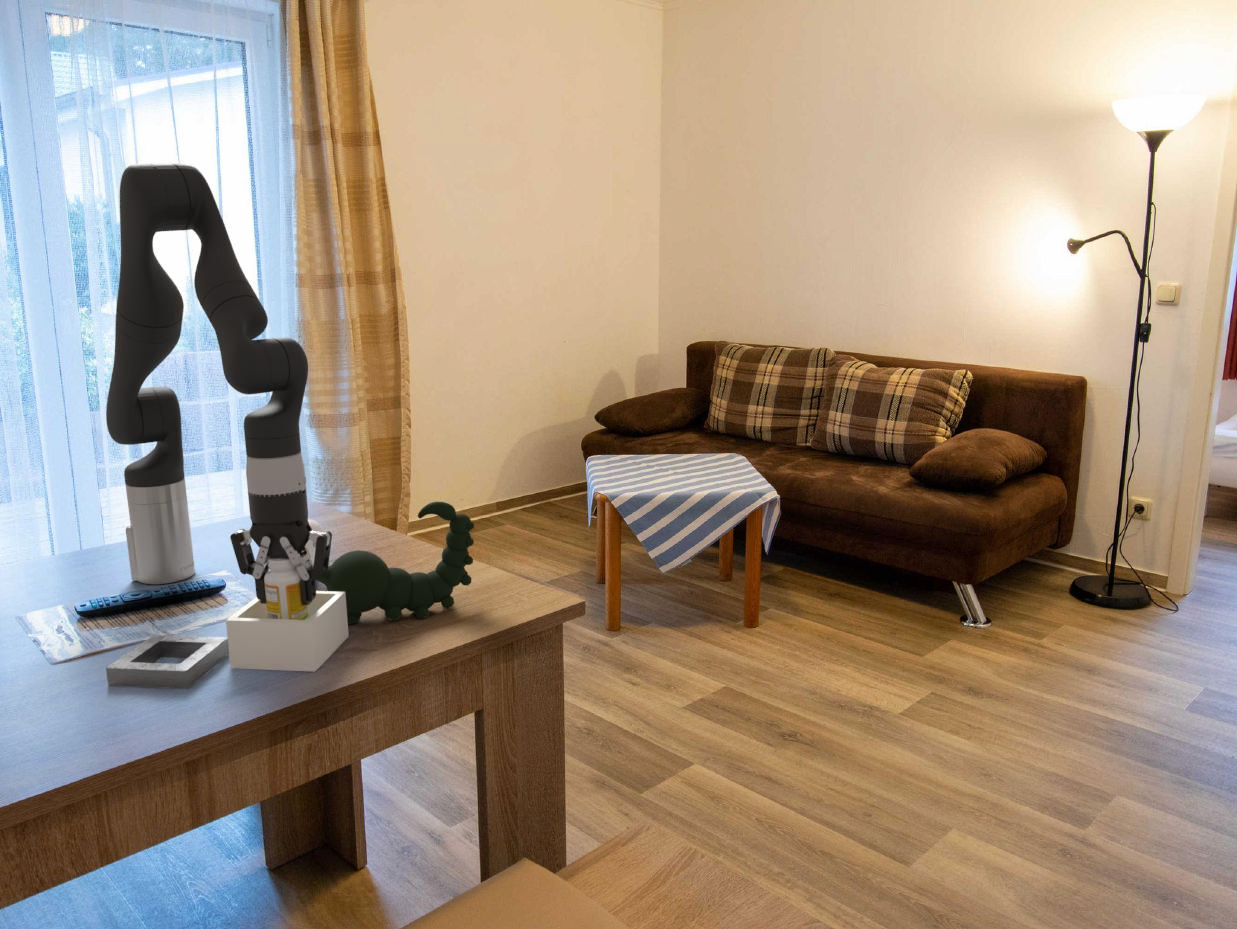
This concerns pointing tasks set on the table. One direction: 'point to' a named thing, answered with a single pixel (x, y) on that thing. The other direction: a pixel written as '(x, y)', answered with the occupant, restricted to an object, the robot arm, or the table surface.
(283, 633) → the bin
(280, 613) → the supplement bottle
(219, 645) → the socket collar
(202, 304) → the robot arm
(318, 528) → the lightbulb
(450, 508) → the toy figurine
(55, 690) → the table surface
